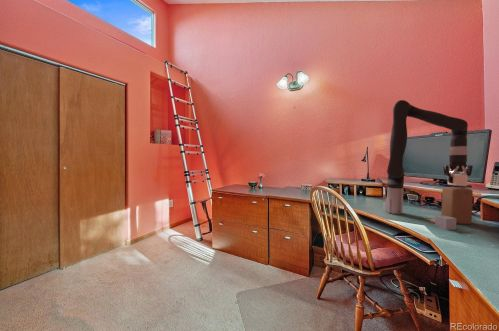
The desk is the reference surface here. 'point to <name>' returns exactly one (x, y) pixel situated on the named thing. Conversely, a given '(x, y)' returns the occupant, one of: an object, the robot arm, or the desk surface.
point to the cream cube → (459, 180)
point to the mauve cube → (445, 222)
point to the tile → (431, 220)
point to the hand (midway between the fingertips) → (457, 182)
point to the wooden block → (457, 204)
